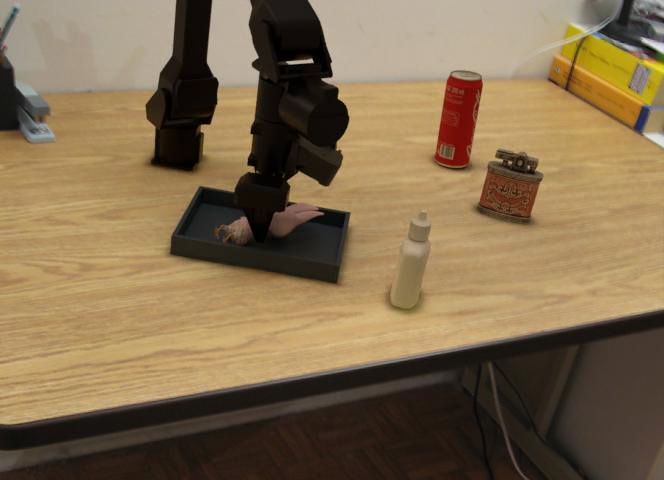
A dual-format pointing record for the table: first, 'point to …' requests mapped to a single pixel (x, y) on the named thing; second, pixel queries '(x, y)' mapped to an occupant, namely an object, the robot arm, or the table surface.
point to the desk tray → (275, 253)
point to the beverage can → (458, 118)
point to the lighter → (510, 187)
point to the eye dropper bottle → (411, 263)
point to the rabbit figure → (279, 224)
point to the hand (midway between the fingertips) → (264, 229)
